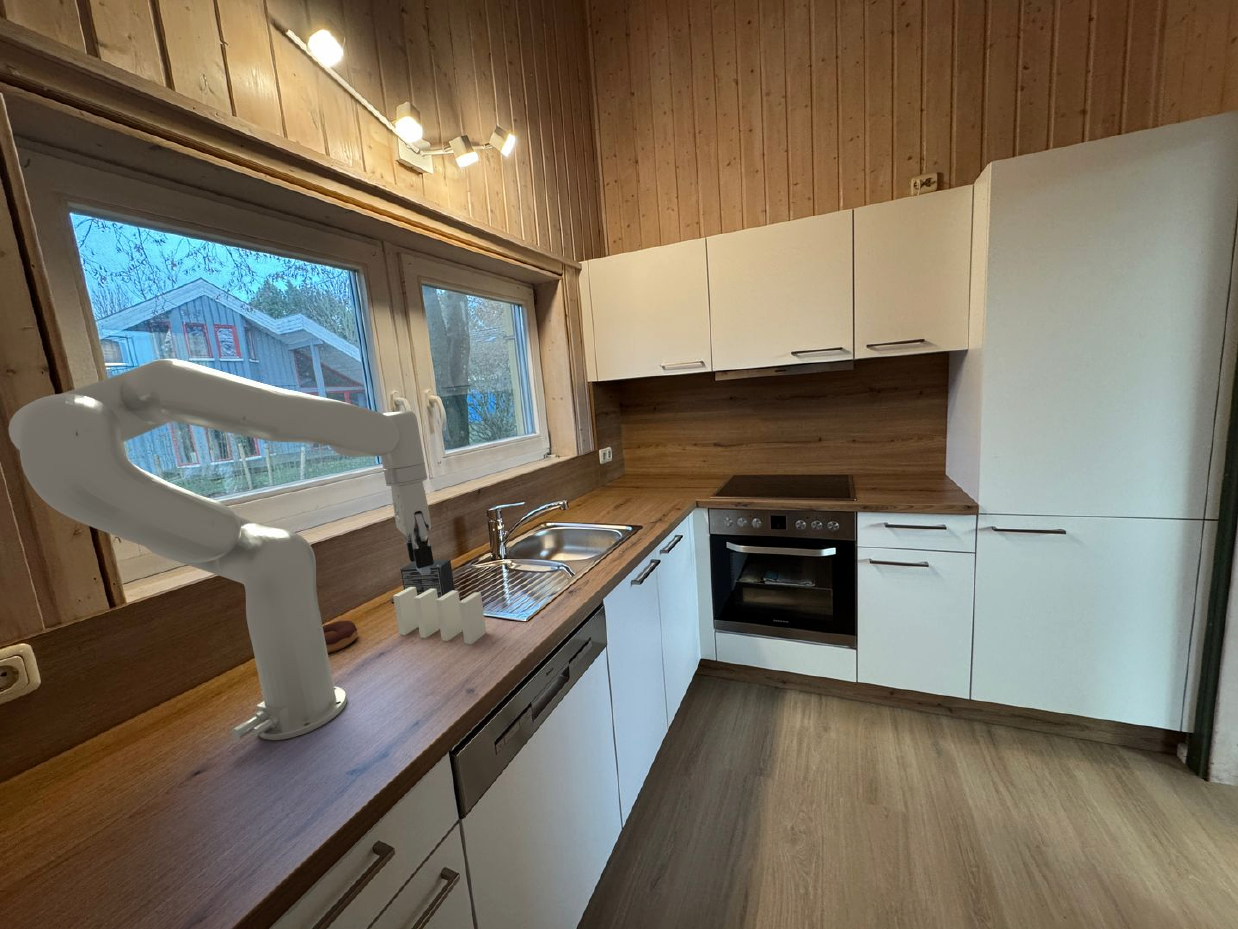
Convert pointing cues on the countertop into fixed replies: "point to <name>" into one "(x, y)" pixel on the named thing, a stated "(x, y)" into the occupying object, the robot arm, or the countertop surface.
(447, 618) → the domino
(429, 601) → the domino
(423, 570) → the domino
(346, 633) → the donut
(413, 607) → the domino
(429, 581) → the small box
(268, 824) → the countertop surface
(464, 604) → the domino
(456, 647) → the countertop surface
